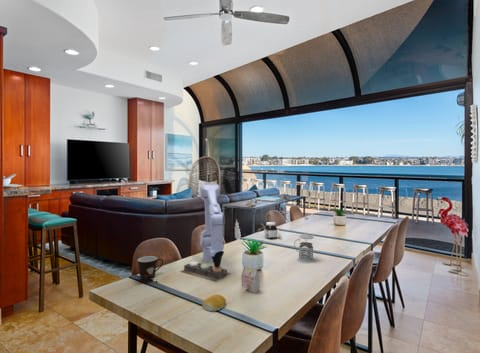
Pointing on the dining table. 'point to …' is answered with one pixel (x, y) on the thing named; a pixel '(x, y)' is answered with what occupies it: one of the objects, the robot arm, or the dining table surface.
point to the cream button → (193, 263)
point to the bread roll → (214, 303)
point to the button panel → (205, 272)
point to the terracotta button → (217, 269)
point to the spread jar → (271, 231)
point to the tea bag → (250, 279)
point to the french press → (305, 249)
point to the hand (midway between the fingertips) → (217, 267)
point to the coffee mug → (147, 268)
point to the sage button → (205, 266)
